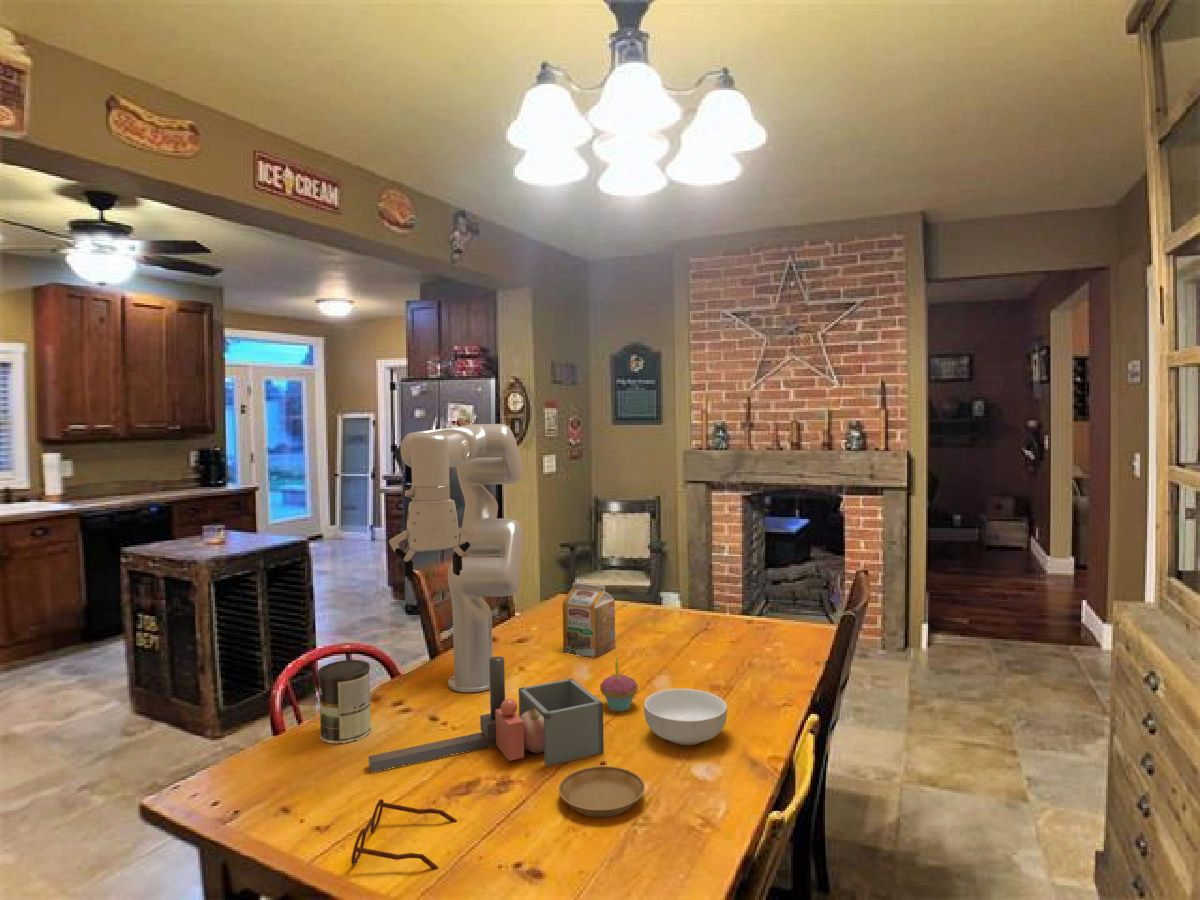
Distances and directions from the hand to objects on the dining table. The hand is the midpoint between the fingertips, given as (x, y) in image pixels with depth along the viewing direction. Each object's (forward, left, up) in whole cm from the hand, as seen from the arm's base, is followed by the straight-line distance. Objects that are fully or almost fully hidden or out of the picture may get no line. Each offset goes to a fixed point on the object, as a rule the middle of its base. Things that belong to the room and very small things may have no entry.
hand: (433, 576), depth 150 cm
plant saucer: (+39, +19, -34) cm, 55 cm away
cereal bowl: (+25, +45, -34) cm, 61 cm away
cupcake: (+5, +40, -34) cm, 52 cm away
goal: (+16, +21, -33) cm, 42 cm away
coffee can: (-10, -17, -34) cm, 39 cm away
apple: (+17, +16, -34) cm, 40 cm away
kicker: (+13, +10, -32) cm, 36 cm away
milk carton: (-34, +51, -34) cm, 70 cm away
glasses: (+37, -14, -34) cm, 52 cm away
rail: (+9, -2, -33) cm, 35 cm away
